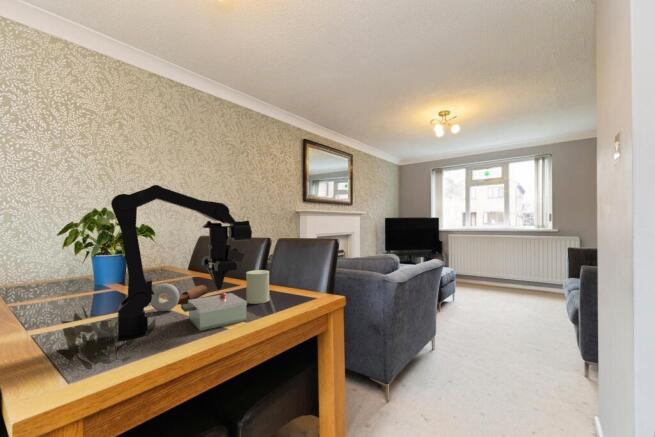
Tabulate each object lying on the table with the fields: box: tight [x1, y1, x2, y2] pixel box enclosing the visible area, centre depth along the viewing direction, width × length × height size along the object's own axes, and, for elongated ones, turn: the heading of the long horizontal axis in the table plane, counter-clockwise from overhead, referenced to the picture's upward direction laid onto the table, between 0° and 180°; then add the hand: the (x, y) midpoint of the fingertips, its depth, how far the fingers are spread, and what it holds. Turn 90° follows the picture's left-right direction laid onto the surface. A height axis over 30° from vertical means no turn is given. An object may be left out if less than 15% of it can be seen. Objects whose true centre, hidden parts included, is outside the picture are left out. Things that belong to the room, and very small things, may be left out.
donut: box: [149, 282, 180, 312], centre depth 103 cm, size 10×4×10 cm, turn 97°
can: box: [245, 269, 270, 305], centre depth 117 cm, size 9×9×12 cm
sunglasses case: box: [177, 284, 209, 305], centre depth 122 cm, size 18×7×7 cm, turn 3°
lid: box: [180, 292, 248, 314], centre depth 93 cm, size 17×14×2 cm
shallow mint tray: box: [188, 305, 247, 332], centre depth 94 cm, size 14×14×5 cm
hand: (219, 289), depth 94 cm, fingers closed
